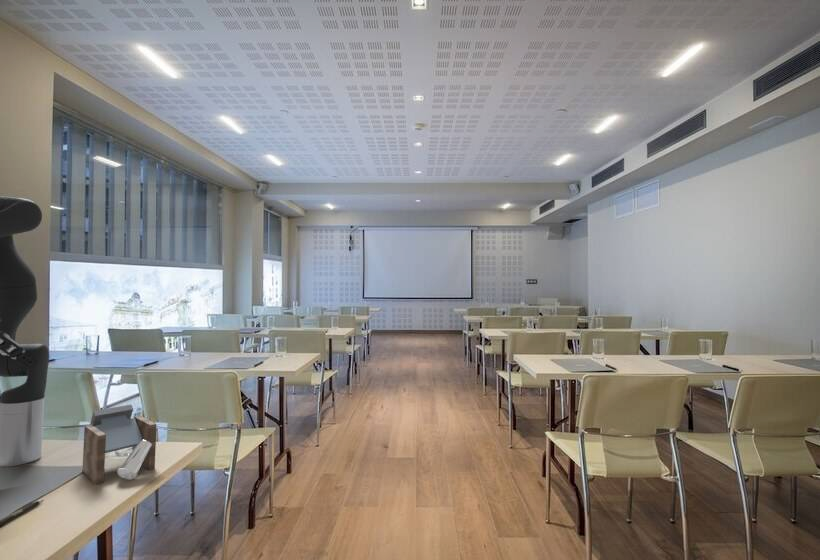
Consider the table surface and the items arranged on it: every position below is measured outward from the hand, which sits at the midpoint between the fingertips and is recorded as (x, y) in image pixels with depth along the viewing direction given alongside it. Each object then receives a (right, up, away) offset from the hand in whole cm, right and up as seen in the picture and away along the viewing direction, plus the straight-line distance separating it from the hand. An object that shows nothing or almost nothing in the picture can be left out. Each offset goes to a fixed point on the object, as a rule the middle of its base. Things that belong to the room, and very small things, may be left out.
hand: (31, 363), depth 97 cm
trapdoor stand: (+12, -31, +12) cm, 36 cm away
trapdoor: (+8, -25, +16) cm, 31 cm away
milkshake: (+21, -24, +11) cm, 33 cm away
